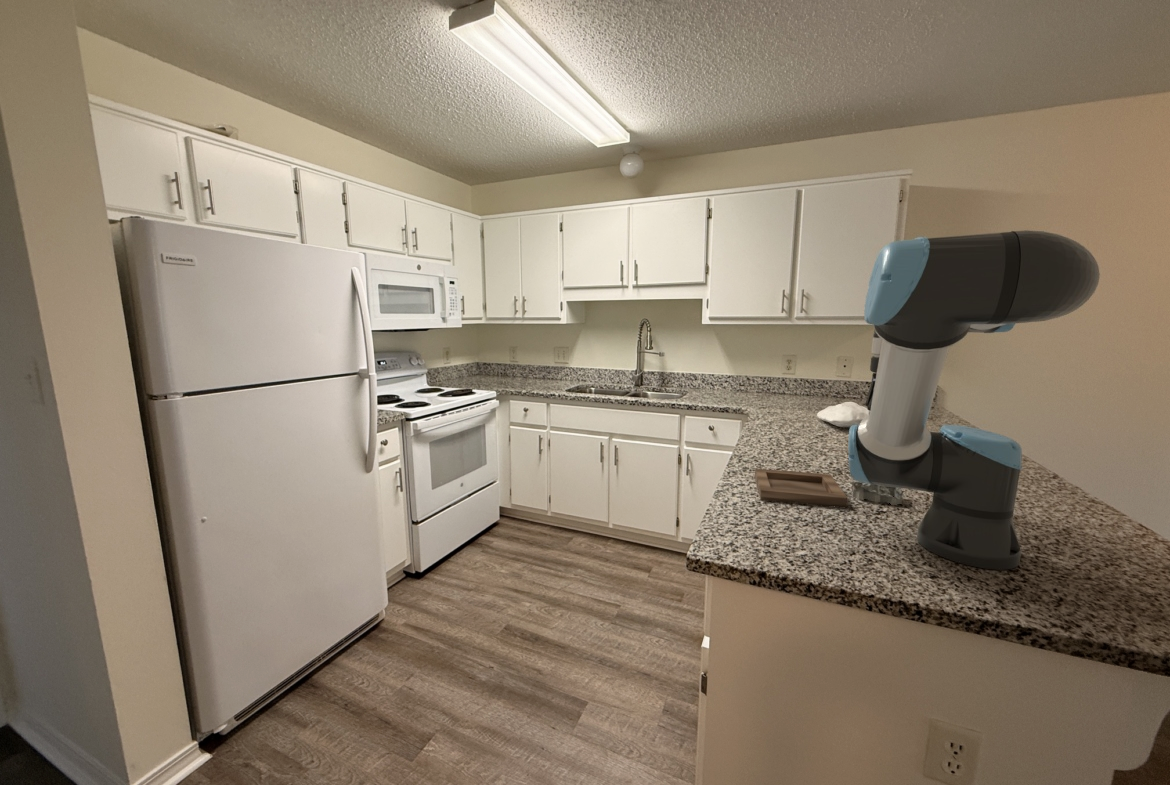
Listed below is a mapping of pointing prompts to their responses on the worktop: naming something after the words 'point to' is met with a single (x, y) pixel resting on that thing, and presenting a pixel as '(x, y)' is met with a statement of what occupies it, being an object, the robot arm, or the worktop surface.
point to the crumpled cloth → (844, 414)
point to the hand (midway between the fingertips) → (881, 443)
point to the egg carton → (877, 492)
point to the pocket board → (799, 488)
